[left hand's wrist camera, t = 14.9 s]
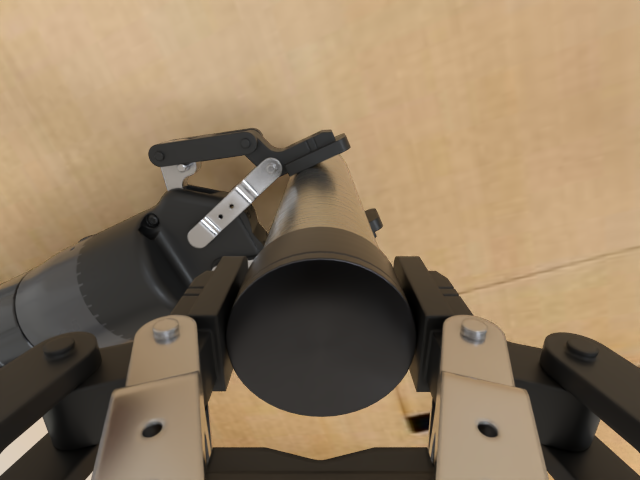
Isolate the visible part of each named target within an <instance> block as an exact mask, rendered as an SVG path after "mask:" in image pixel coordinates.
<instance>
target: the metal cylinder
mask: <svg viewBox="0 0 640 480" xmlns="http://www.w3.org/2000/svg"><path fill="white" fill-rule="evenodd" d="M308 227H333V228H339V229H344V230H347V231H350V232H353V233H355V234H357V235H360V236H362V237H364V238H365V239H367V240H368V241H370V242H372V243H373V244H374V245H375V246H376V247H378V245H377V243H376V240H375V237H374V235H373V232H372V230H371V227H370V224H369V222H368V219H367V216H366V214H365V211H364V209H363V206H362V203H361V201H360V198H359V196H358V193H357V190H356V188H355V185H354V183H353V180H352V177H351V175H350V172H349V170H348V167H347V165H346V163H345V161H344V159H343V158H342V157H341V156H340V155H339V154H338V155H336V156H334V157H332V158H329V159H327V160H325V161H323V162H321V163H319V164H316V165H314V166H312V167H310V168H308V169H305V170H303V171H301V172H299V173H297V174H295V175H293V176H291V177H290V179H289V181H288V184H287V187H286V189H285V192H284V195H283V197H282V200H281V203H280V205H279V208H278V210H277V213H276V216H275V218H274V221H273V224H272V226H271V229H270V232H269V234H268V237H267V240H266V242H265V245H264V248H265V247H266V246H267V245H268V244H269V243H271V242H272V241H274V240H275V239H277V238H279V237H281V236H283V235H285V234H287V233H289V232H292V231H295V230H298V229H303V228H308ZM264 248H263V249H264Z"/></svg>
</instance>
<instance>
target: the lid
mask: <svg viewBox="0 0 640 480" xmlns="http://www.w3.org/2000/svg"><path fill="white" fill-rule="evenodd" d="M225 337H226V348H227V353H228V357H229V359H230V362H231V365H232V367H233V369H234V371H235V372H236V374H237V376H238V377H239V378H240V380H241V381H242V382H243V384H244V385H245V386H246V387H247V388H248V389H249V390H250V391H251V392H253V393H254V394H255V395H256V396H258V397H259V398H260V399H262V400H263V401H265V402H267V403H268V404H270V405H272V406H275V407H277V408H279V409H282V410H284V411H287V412H291V413H295V414H299V415H305V416H317V417H326V416H337V415H343V414H348V413H351V412H355V411H358V410H361V409H363V408H366V407H368V406H370V405H372V404H374V403H376V402H377V401H379V400H380V399H382V398H383V397H385V396H386V395H387V394H389V393H390V392H391V391H392V390H393V389H394V388H395V387H396V386H397V385H398V384H399V383H400V382H401V380H402V379H403V378H404V376H405V375H406V373H407V371H408V369H409V367H410V366H411V363H412V360H413V358H414V355H415V350H416V344H417V330H416V323H415V319H414V316H413V313H412V310H411V308H410V306H409V303H408V301H407V298H406V296H405V294H404V291H403V289H402V287H401V284H400V282H399V280H398V277H397V275H396V273H395V271H394V269H393V267H392V264H391V263H390V261H389V260H388V259H387V257H386V256H385V255H384V254H383V252H382V251H381V250H380V249H379V248H378V247H376V246H375V245H374V244H373V243H372V242H370V241H368V240H367V239H365V238H364V237H362V236H360V235H357V234H355V233H353V232H350V231H347V230H344V229H339V228H333V227H308V228H303V229H298V230H295V231H292V232H289V233H287V234H285V235H283V236H281V237H279V238H277V239H275V240H274V241H272V242H271V243H269V244H268V245H267V246H266V247H265V248H264V249H262V250H261V251H260V253H259V254H258V255H257V256H256V257H255V259H254V260H253V262H252V263H251V265H250V267H249V269H248V271H247V273H246V276H245V278H244V280H243V283H242V285H241V288H240V290H239V292H238V295H237V297H236V300H235V302H234V304H233V307H232V309H231V311H230V314H229V317H228V321H227V325H226V334H225Z"/></svg>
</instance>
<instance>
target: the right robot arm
mask: <svg viewBox="0 0 640 480" xmlns="http://www.w3.org/2000/svg"><path fill="white" fill-rule="evenodd" d="M350 148H351V147H350V145H349V142H348V140H347V137H346V135H345V134H340V135H338V136H336V137H334V135H333V132H332V130H321V131H319V132H317V133H315V134H313V135H311V136H309V137H307V138H305V139H302V140H300V141H298V142H296V143H294V144H292V145H290V146H288V147H286V148H282V149H279V148H275V147H273V146H272V145H271V144H270V143H269V142H268V141H267V140H266V139H265V138H264V137H263V135H262V133H261V132H260V131H259V130H258V129H256V128H249V129H242V130H235V131H229V132H222V133H215V134H209V135H202V136H195V137H188V138H182V139H175V140H170V141H167V142H163V143H160V144H157V145H154V146H152V147H151V148H150V150H149V159H150V161H151V162H152V163H153V164H154V165H156V166H158V167H161V170H162V174H163V177H164V180H165V184H166V187H167V190H168V191H167V192H166V193H165V194H164V195H163V196H162V198H161V200H160V201H159V203H158V204H157V205H156V206H154V207H152V208H150V209H148V210H146V211H144V212H141V213H139V214H137V215H135V216H133V217H131V218H129V219H127V220H125V221H123V222H121V223H119V224H117V225H114V226H112V227H110V228H108V229H106V230H104V231H102V232H100V233H98V234H96V235H91V236H88V237H85V238H83V239H81V240H80V241H79V242H78V243H77V244H75V245H73V246H70V247H68V248H66V249H64V250H62V251H61V252H59V253H57V254H56V255H54V256H53V257H51V258H50V259H48V260H47V261H45V262H44V263H43V264H41V265H39V266H38V267H36V268H34V269H32V270H30V271H28V272H26V273H24V274H22V275H20V276H17V277H15V278H13V279H11V280H9V281H7V282H5V283H2V284H0V368H2V367H3V366H5V365H6V364H8V363H9V362H11V361H13V360H14V359H16V358H17V357H19V356H20V355H22V354H23V353H25V352H26V351H28V350H30V349H31V348H33V347H34V346H36V345H37V344H39V343H41V342H43V341H45V340H47V339H49V338H52V337H54V336H57V335H61V334H64V333H69V332H88V333H91V334H93V335H94V336H95V337H96V339H97V343H98V346H99V348H104V347H109V346H114V345H120V344H125V343H129V342H133V341H134V337H135V334H136V333H137V331H138V330H139V329H140V328H141V327H142V326H143V325H145V324H146V323H148V322H150V321H152V320H154V319H157V318H160V317H164V316H169V315H170V313H171V312H172V310H173V309H174V307H175V306H176V304H177V303H178V302H179V300H180V299H181V297H182V296H184V293H185V291H186V290H187V289H189V286H190V284H191V283H192V281H193V280H194V278H196V277H197V276H199V275H200V274H202V273H203V272H205V271H214V270H215V268H216V267H217V265H218V263H219V262H220V260H221V258H222V257H223V256H246V257H247V260H248V269H249V267H250V265H251V263H252V262H253V260H254V259H255V257H256V256H257V255H258V254H259V253H260V251H261V250H262V249H263V248H264V245H265V242H266V240H267V237H268V234H267V232H266V231H265V230H264V229H263V227H262V226H261V225H260V224H259V223H258V221H257V217H256V213H255V210H254V208H253V206H252V204H251V203H252V202H253V201H254V200H255V199H256V198H257V197H258V196H259V195H260V194H261V193H262V192H263V191H264V190H265V189H266V188H267V187H268V186H270V185H271V184H272V183H273V182H274V181H275V180H276V179H277V178H278V177H280V176H282V175H285V174H287V173H288V174H289V176H290V177H291V176H293V175H295V174H297V173H299V172H301V171H303V170H305V169H308V168H310V167H312V166H314V165H316V164H319V163H321V162H323V161H325V160H327V159H329V158H332V157H334V156H336V155H338V154H340V153H342V152H344V151H346V150H348V149H350ZM242 155H245V156H246V157H247V158H248V159H249V160H250V161H251V162H252V163H253V164H255V165H256V167H255V168H254V169H253V170H252V171H251V172H250V173H249V174H248V175H247V176H246V177H245V178H243V179H242V180H241V181H240V182H239V183H238V184H237V185H236V186H235V187H234V188H233V189H232V190H231V191H230V192H224V191H218V190H213V189H208V188H203V187H198V186H192V185H188V183H187V180H188V177H189V176H191V175H193V174H194V173H196V172H198V171H199V170H200V168H201V161H208V160H214V159H221V158H228V157H235V156H242ZM365 214H366V216H367V219H368V222H369V224H370V227H371V230H372V232H373V235H374V237H375V238H376V237H377V236H376V234H375V231H378V230H379V229H381V228H382V227H383V224H382V222H381V220H380V217H379V215H378V213H377V211H376V209H369V210H367V211H365Z"/></svg>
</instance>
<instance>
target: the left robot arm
mask: <svg viewBox="0 0 640 480" xmlns="http://www.w3.org/2000/svg"><path fill="white" fill-rule="evenodd" d="M393 269H394V271H395V273H396V275H397V277H398V280H399V282H400V284H401V287H402V289H403V291H404V294H405V296H406V298H407V301H408V303H409V306H410V308H411V310H412V313H413V316H414V319H415V323H416V330H417V344H416V350H415V355H414V358H413V360H412V363H411V366H410V367H409V370H410V373H411V376H412V379H413V382H414V385H415V388H416V391H417V392H431V395H432V397H433V398H432V405H431V412H430V423H429V434H428V446H427V447H375V448H371V449H367V450H363V451H359V452H355V453H351V454H347V455H343V456H339V457H335V458H331V459H327V460H313V459H309V458H305V457H301V456H297V455H293V454H289V453H285V452H281V451H277V450H273V449H269V448H265V447H213V446H212V434H211V423H210V412H209V405H208V401H209V399H210V396H211V393H212V391H226V389H227V386H228V383H229V380H230V377H231V373H232V370H233V367H232V365H231V362H230V359H229V357H228V353H227V348H226V337H225V334H226V325H227V321H228V317H229V314H230V311H231V309H232V307H233V304H234V302H235V300H236V297H237V295H238V292H239V290H240V288H241V285H242V283H243V280H244V278H245V276H246V273H247V271H248V260H247V257H246V256H223V257H222V258H221V260H220V262H219V263H218V265H217V267H216V268H215V270H214V271H205V272H203V273H202V274H200V275H199V276H197V277H196V278H194V280H193V281H192V283H191V284H190V286H189V289H187V290H186V291H185V293H184V296H182V297H181V299H180V300H179V302H178V303H177V304H176V306H175V307H174V309H173V310H172V312H171V313H170V315H169V316H164V317H160V318H157V319H154V320H152V321H150V322H148V323H146V324H145V325H143V326H142V327H141V328H140V329H139V330H138V331H137V333H136V334H135V337H134V341H133V342H129V343H125V344H120V345H114V346H109V347H104V348H99V346H98V343H97V339H96V337H95V336H94V335H93V334H91V333H88V332H69V333H64V334H61V335H57V336H54V337H52V338H49V339H47V340H45V341H43V342H41V343H39V344H37V345H36V346H34V347H33V348H31V349H30V350H28V351H26V352H25V353H23V354H22V355H20V356H19V357H17V358H16V359H14V360H13V361H11V362H9V363H8V364H6V365H5V366H3V367H2V368H0V454H1V452H2V451H3V450H4V449H5V448H6V447H7V446H8V445H9V444H11V443H12V442H13V441H14V440H15V439H16V438H18V437H19V436H20V435H21V434H22V433H24V432H25V431H26V430H27V429H28V428H29V427H31V426H32V425H33V424H34V423H35V422H36V421H38V420H39V419H40V418H41V417H43V419H44V422H45V425H46V427H47V430H48V433H47V434H46V435H45V436H44V437H43V438H42V439H41V440H40V441H38V442H37V443H36V444H35V445H34V446H33V447H32V448H31V449H30V450H28V451H27V452H26V453H25V454H24V455H23V456H22V457H21V458H20V459H19V460H17V461H16V462H15V463H14V464H13V465H12V466H11V467H10V468H9V469H7V470H6V471H5V472H4V473H3V474H2V475H1V476H0V480H85V479H86V478H87V477H88V476H89V475H90V474H91V473H92V471H93V474H92V478H91V480H549V478H548V474H547V471H548V473H549V474H550V475H551V476H552V477H553V478H554V479H555V480H640V476H639V475H638V474H637V473H636V472H635V471H634V470H633V469H631V468H630V467H629V466H628V465H627V464H626V463H625V462H624V461H623V460H622V459H620V458H619V457H618V456H617V455H616V454H615V453H614V452H613V451H612V450H610V449H609V448H608V447H607V446H606V445H605V444H604V443H603V442H602V441H601V440H599V439H598V438H597V437H596V436H595V433H596V430H597V427H598V425H599V422H600V419H601V420H602V421H603V422H605V423H606V424H607V425H608V426H609V427H611V428H612V429H613V430H614V431H615V432H616V433H618V434H619V435H620V436H621V437H622V438H624V439H625V440H626V441H627V442H628V443H629V444H631V445H632V446H633V447H634V448H635V449H636V450H637V451H638V452H639V453H640V368H638V367H637V366H635V365H634V364H632V363H631V362H629V361H627V360H626V359H624V358H623V357H621V356H620V355H618V354H617V353H615V352H614V351H612V350H610V349H609V348H607V347H606V346H604V345H602V344H601V343H599V342H597V341H595V340H592V339H590V338H587V337H584V336H581V335H577V334H572V333H553V334H550V335H548V336H547V337H546V339H545V341H544V345H543V349H541V348H536V347H531V346H526V345H521V344H516V343H511V342H508V341H506V337H505V334H504V333H503V331H502V330H501V329H500V328H499V327H498V326H497V325H495V324H494V323H492V322H490V321H488V320H486V319H483V318H480V317H476V316H473V314H472V313H471V311H470V310H469V308H468V307H467V306H466V304H465V303H464V301H463V300H462V298H461V297H460V296H459V294H458V293H457V291H456V290H455V289H454V287H453V286H452V284H451V283H450V281H449V280H448V279H447V278H446V277H444V276H443V275H441V274H440V273H438V272H437V271H428V270H427V268H426V267H425V265H424V263H423V262H422V260H421V259H420V257H419V256H396V257H395V260H394V267H393Z"/></svg>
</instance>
